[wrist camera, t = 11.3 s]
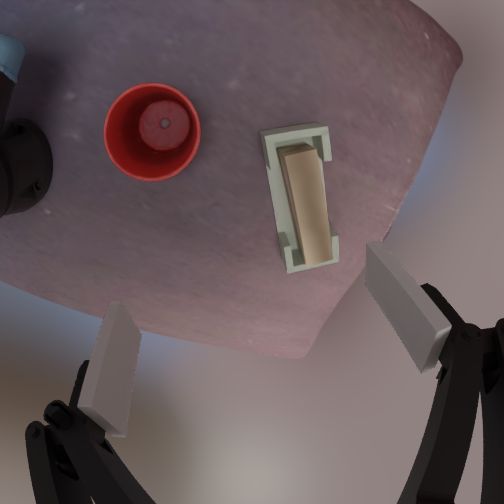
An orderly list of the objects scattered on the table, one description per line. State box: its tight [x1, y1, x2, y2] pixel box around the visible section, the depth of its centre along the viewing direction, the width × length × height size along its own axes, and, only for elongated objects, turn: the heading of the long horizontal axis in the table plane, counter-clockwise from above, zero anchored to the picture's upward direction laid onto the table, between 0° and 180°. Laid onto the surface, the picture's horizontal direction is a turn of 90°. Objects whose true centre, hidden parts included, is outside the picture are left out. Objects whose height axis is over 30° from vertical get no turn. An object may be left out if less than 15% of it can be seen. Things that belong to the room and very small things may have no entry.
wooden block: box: [276, 141, 333, 267], centre depth 40 cm, size 4×16×6 cm, turn 14°
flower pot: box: [104, 83, 201, 182], centre depth 32 cm, size 11×11×10 cm
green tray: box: [259, 122, 339, 273], centre depth 41 cm, size 8×20×5 cm, turn 11°
